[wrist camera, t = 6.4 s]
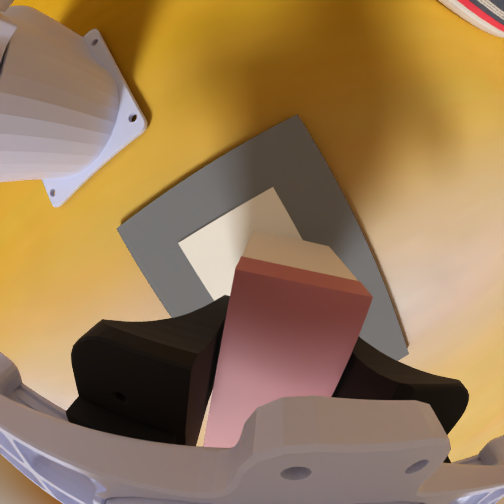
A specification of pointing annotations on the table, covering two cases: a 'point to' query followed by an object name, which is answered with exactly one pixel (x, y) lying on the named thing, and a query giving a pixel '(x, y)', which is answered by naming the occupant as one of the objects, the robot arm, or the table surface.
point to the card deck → (283, 330)
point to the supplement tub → (480, 13)
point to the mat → (254, 226)
